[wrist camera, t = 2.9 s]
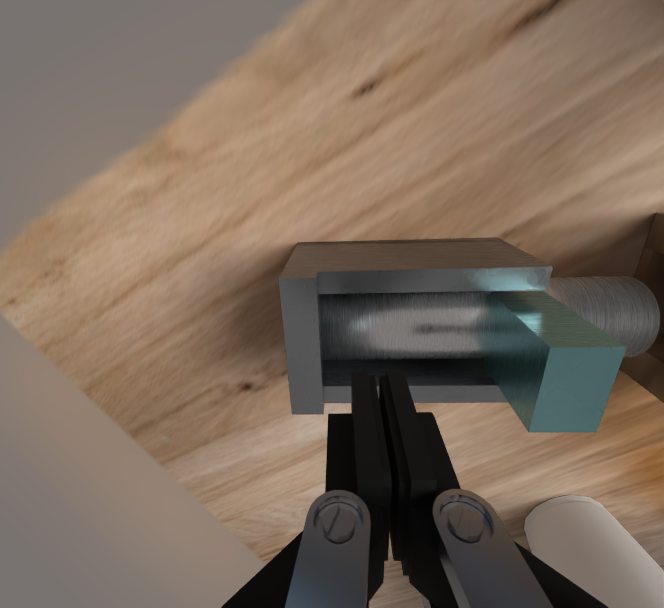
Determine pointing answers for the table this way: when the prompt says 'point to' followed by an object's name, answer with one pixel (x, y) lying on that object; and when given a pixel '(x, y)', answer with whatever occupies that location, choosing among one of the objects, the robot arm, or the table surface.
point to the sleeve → (393, 277)
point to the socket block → (660, 276)
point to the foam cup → (594, 552)
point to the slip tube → (509, 339)
